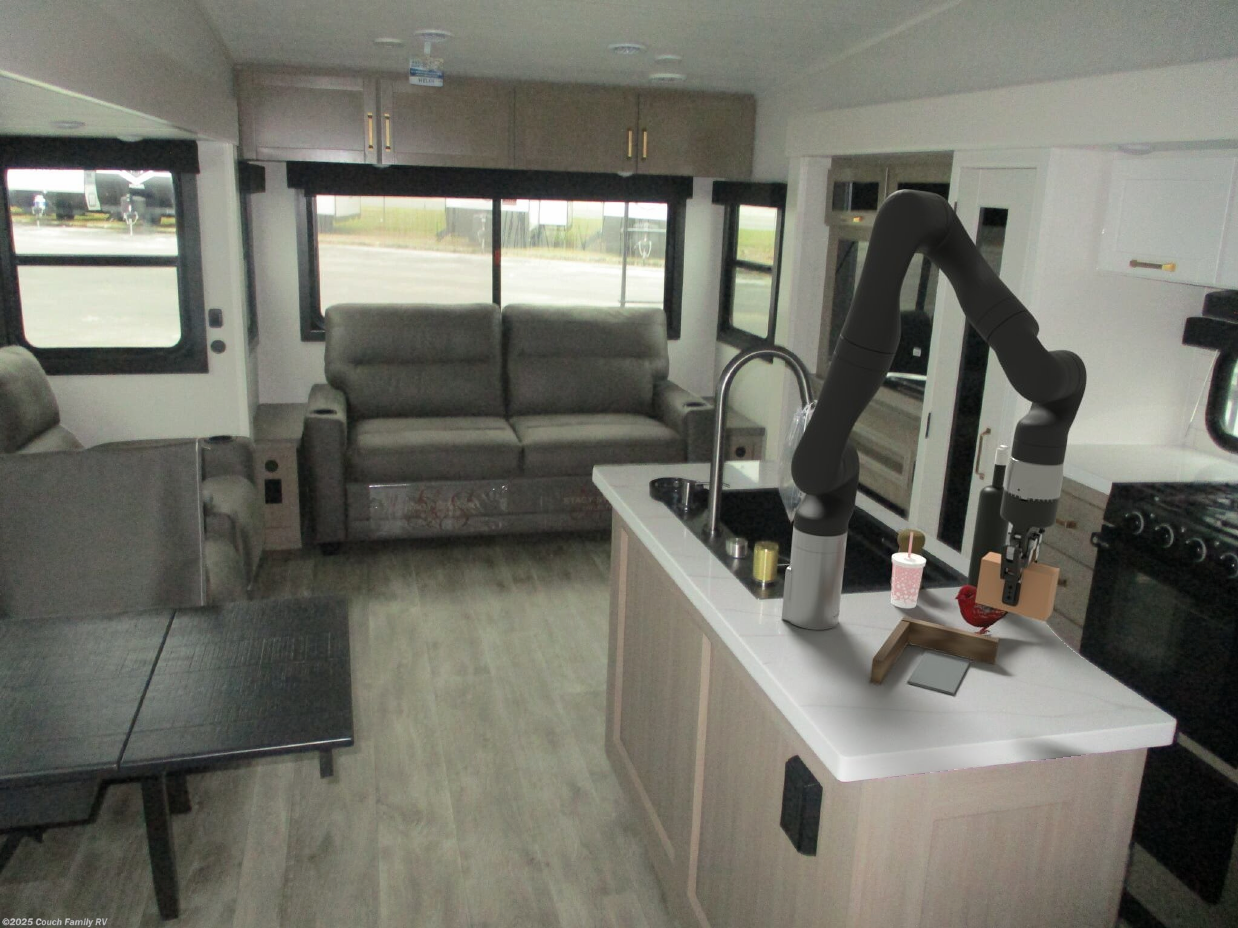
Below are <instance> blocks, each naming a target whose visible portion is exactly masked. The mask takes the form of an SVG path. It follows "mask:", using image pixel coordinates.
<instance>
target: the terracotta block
mask: <svg viewBox="0 0 1238 928" xmlns="http://www.w3.org/2000/svg"><path fill="white" fill-rule="evenodd" d="M1021 561H1022V562H1024V561H1025V560H1022V559H1021ZM1000 569H1001V554H997V553H993V552H989V553H988V554H987V555H986V556H984V557H983V558H982V560H981V567H980V574H979V580H978V587H977V593H976V600H975V603H979V604H982V605H986V606H990V607H993V608H997V609H1001V610H1004V611H1008V613H1011V614H1016V615H1019V616H1022V617H1025V618H1030V619H1034V620H1037V621H1041V622H1046V621H1047V620H1048V618H1049V617H1050V616H1052V614H1053V609H1054V603H1055V598H1056V593H1057V589H1058V588H1057V587H1058V582H1059V576H1060V571H1061V568H1058V567H1054V566H1050V565H1046V564H1042V563H1034V562H1030V566H1029V567H1028V568H1026V569H1025V570H1024V575H1023V581H1022V584H1021V590H1020V596H1019V602H1018V604H1017V606H1015V607H1013V606H1010V605H1006V604H1003V603H1002V595H1003V588H1004V582H1005V580H1003V579H1000ZM1010 573H1015V571H1014V570H1012V569H1010Z"/></svg>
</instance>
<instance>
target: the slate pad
mask: <svg viewBox="0 0 1238 928" xmlns="http://www.w3.org/2000/svg"><path fill="white" fill-rule="evenodd" d="M970 664H971V660H970V659H968V658H964V657H963V658H962V657H960V656H959V657H958V656H956V655H955V656H954V655H952V654H951V655H950V654H948V653H944V652H940V651H938V652H937V651H936V650H932V649H926V650H925V652H924V654H923V655H922V657H921V658H920V660H919V662H917V665H916V666H915V668H914V670H913V671H912V672H911V675H910V676H909V678H908V679H907V684H910V685H914V686H917V687H922V688H924V689H927V690H928V689H929V690H933V691H936V692H940V693H944V694H947V695H952V696H954V695H955V693H956V691H957V689H958V687H959V685H960V684H961V681H962V679H963V677H964V675H965V673H966V671H967V669H968V667H969V665H970Z"/></svg>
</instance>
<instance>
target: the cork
mask: <svg viewBox="0 0 1238 928" xmlns="http://www.w3.org/2000/svg"><path fill="white" fill-rule="evenodd" d="M911 532H913V540H912V548H911V553H912V554H916V555H920V556H922V549H923V548H925V544H926V536H925V534H924V533H923V532H921V531H919V530H917V529H916V530H915V529H912V528H911V529H908V528H906V529H903V530H901V531H900V532H899V533H898V535H897V544H898V546H899V548H898V552H897V553H908V551H909V543H910V534H911ZM889 582H890V585H892V577H891V578H890V580H889ZM922 587H923V576H922V577H921V582H920V587H919V590H920V589H922Z"/></svg>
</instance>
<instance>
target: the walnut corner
mask: <svg viewBox="0 0 1238 928" xmlns="http://www.w3.org/2000/svg"><path fill="white" fill-rule="evenodd" d="M999 641H1000V638H998V637H993V636H989V635H986V634H977V633H974V632H972V631H968V630H963V629H959V628H954V627H950V626H946V625H944V624H943V625H941V624H938V623H933V622H928V621H926V620H925V621H924V620H922V619H921V620H920V619H915V618H913V617H909V616H908V617H907V616H903V617H902V618H901V620H900V621H899V622H898V624H897V625H896V627H894V628H893V630H892V632H891V634H890V635H889V636H888V637H887V639H886V640H885V641H884V643H882V645H881V647H880V648H879V649H878V651H877V652H876V654H874V656H873V658H872V661H871V662H872V663H871V669H870V670H871V671H870V680H869V683H873V684H876V685H881V683H882V682H883V680H884V679H885V677H887V674H888V673H889V672H890V670H891V669H892V667H894V664H895V663H896V662H897V660H898V658H899V657H900V656H901V654H902V653H903V651H904V649H906V646H907V645H908V644H909V645H914V646H918V647H922V648H925V649H928V650H932V651H936V652H937V651H938V652H940V653H944V654H948V655H950V654H951V655H952V656H954V655H955V656H956V657H958V656H959V657H961V658H962V657H963V658H965V659H969V660H970V659H971V660H974V661H978V662H982V663H986V664H991V665H995V663H996V660H997V655H998V647H999Z"/></svg>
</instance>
